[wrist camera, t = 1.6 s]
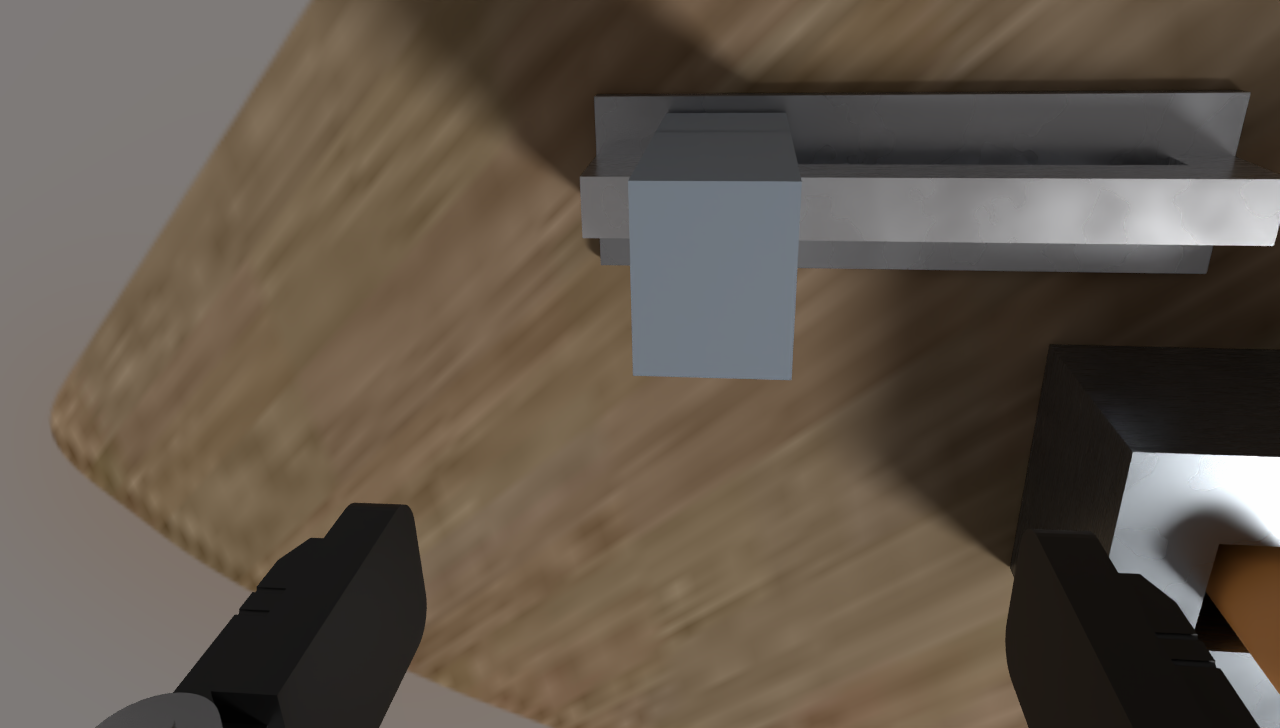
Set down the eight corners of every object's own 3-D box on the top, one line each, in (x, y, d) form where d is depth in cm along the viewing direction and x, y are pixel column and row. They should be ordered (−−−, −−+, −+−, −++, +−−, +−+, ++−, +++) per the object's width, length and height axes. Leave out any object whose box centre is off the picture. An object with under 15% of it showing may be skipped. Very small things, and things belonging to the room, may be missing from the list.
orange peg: (1172, 482, 31) (1300, 642, 24) (1258, 486, 31) (1415, 648, 23) (1154, 550, 32) (1272, 721, 25) (1238, 554, 32) (1382, 728, 25)
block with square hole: (1049, 344, 33) (1133, 451, 26) (1343, 351, 32) (1516, 465, 25) (1009, 571, 37) (1071, 719, 30) (1267, 584, 36) (1397, 741, 29)
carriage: (666, 113, 30) (627, 180, 21) (786, 112, 30) (802, 181, 21) (667, 255, 32) (633, 375, 23) (779, 257, 32) (791, 379, 23)
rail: (597, 94, 31) (576, 111, 28) (1241, 90, 29) (1311, 108, 25) (603, 259, 34) (585, 295, 30) (1198, 268, 31) (1256, 308, 28)
